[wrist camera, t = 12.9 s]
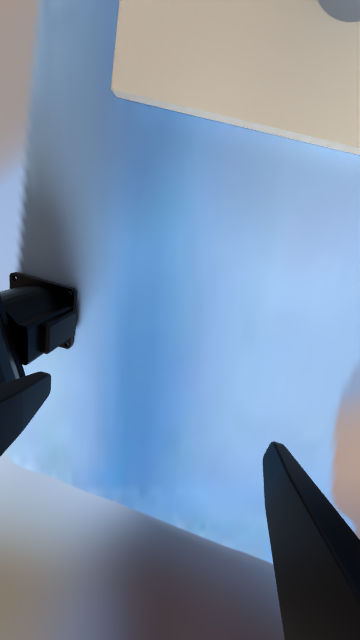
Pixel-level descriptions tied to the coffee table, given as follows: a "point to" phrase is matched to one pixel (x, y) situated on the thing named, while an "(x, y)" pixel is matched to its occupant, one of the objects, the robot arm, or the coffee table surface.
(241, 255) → the coffee table surface
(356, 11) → the grey rounded cylinder
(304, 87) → the board
